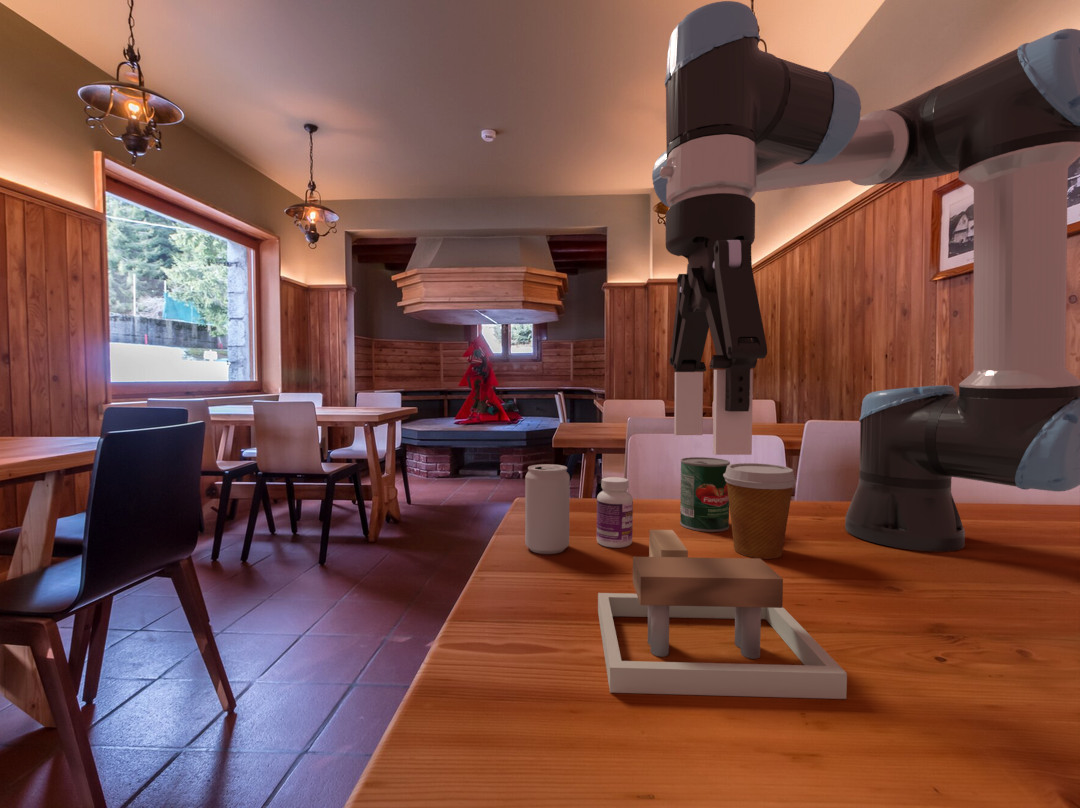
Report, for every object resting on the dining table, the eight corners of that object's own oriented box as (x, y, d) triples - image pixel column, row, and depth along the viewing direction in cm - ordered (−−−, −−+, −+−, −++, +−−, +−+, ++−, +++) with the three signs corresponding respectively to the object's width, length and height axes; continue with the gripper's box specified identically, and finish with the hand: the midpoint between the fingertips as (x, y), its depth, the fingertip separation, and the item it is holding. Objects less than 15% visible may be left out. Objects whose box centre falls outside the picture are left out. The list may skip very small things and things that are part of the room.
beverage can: (524, 542, 77) (523, 463, 76) (566, 541, 78) (566, 462, 77) (526, 556, 71) (526, 470, 70) (572, 555, 71) (572, 470, 71)
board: (640, 605, 44) (640, 576, 44) (632, 582, 49) (632, 556, 49) (782, 607, 43) (783, 579, 43) (759, 584, 48) (760, 558, 48)
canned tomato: (693, 516, 91) (694, 455, 91) (737, 525, 86) (738, 460, 85) (671, 525, 86) (671, 460, 85) (715, 535, 80) (717, 466, 80)
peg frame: (771, 614, 53) (772, 567, 53) (846, 699, 39) (848, 635, 39) (598, 611, 54) (598, 564, 54) (609, 692, 40) (610, 629, 40)
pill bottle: (630, 550, 73) (630, 483, 73) (593, 546, 75) (593, 481, 74) (634, 539, 78) (634, 476, 78) (600, 536, 80) (600, 475, 79)
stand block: (672, 567, 66) (672, 529, 66) (687, 593, 58) (687, 550, 58) (649, 567, 66) (649, 529, 66) (660, 593, 58) (661, 550, 58)
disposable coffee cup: (804, 565, 67) (806, 475, 66) (727, 560, 69) (729, 472, 68) (784, 543, 76) (786, 463, 76) (717, 539, 78) (718, 461, 78)
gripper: (643, 242, 58) (643, 429, 59) (706, 139, 33) (703, 466, 34) (711, 241, 57) (709, 429, 58) (825, 136, 32) (818, 466, 34)
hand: (706, 443), depth 46 cm, fingers open, 13 cm apart
